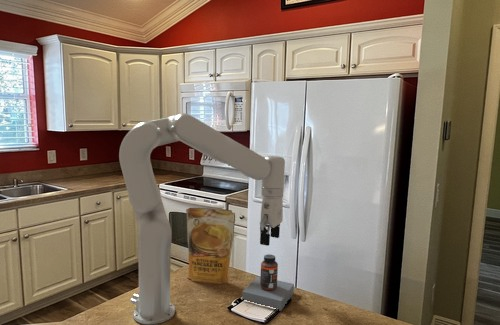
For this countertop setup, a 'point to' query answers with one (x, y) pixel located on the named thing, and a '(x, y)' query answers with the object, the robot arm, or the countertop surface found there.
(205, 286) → the countertop surface
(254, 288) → the slate riser block
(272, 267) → the supplement bottle
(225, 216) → the pancake mix bag
